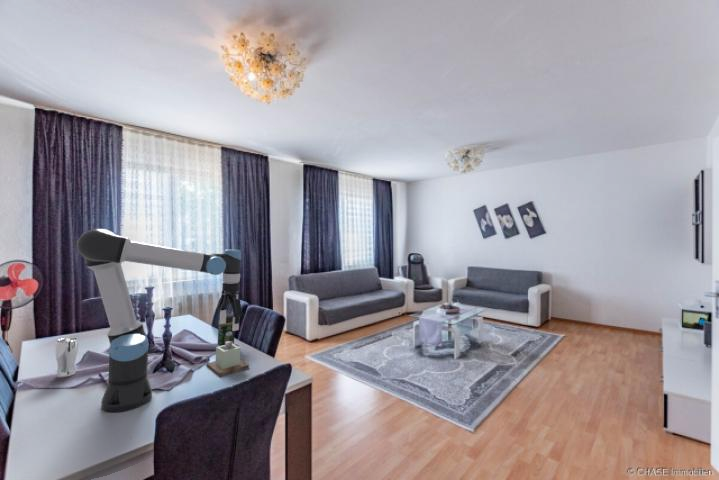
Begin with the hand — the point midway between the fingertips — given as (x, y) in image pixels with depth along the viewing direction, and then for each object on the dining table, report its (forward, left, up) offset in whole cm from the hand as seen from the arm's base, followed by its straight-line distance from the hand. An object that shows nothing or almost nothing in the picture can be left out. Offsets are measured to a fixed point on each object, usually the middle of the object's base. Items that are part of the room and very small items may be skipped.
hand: (228, 326), depth 149 cm
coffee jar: (+10, +25, -20) cm, 33 cm away
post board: (0, 0, -19) cm, 19 cm away
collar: (0, 0, -18) cm, 18 cm away
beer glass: (-54, +36, -20) cm, 68 cm away
